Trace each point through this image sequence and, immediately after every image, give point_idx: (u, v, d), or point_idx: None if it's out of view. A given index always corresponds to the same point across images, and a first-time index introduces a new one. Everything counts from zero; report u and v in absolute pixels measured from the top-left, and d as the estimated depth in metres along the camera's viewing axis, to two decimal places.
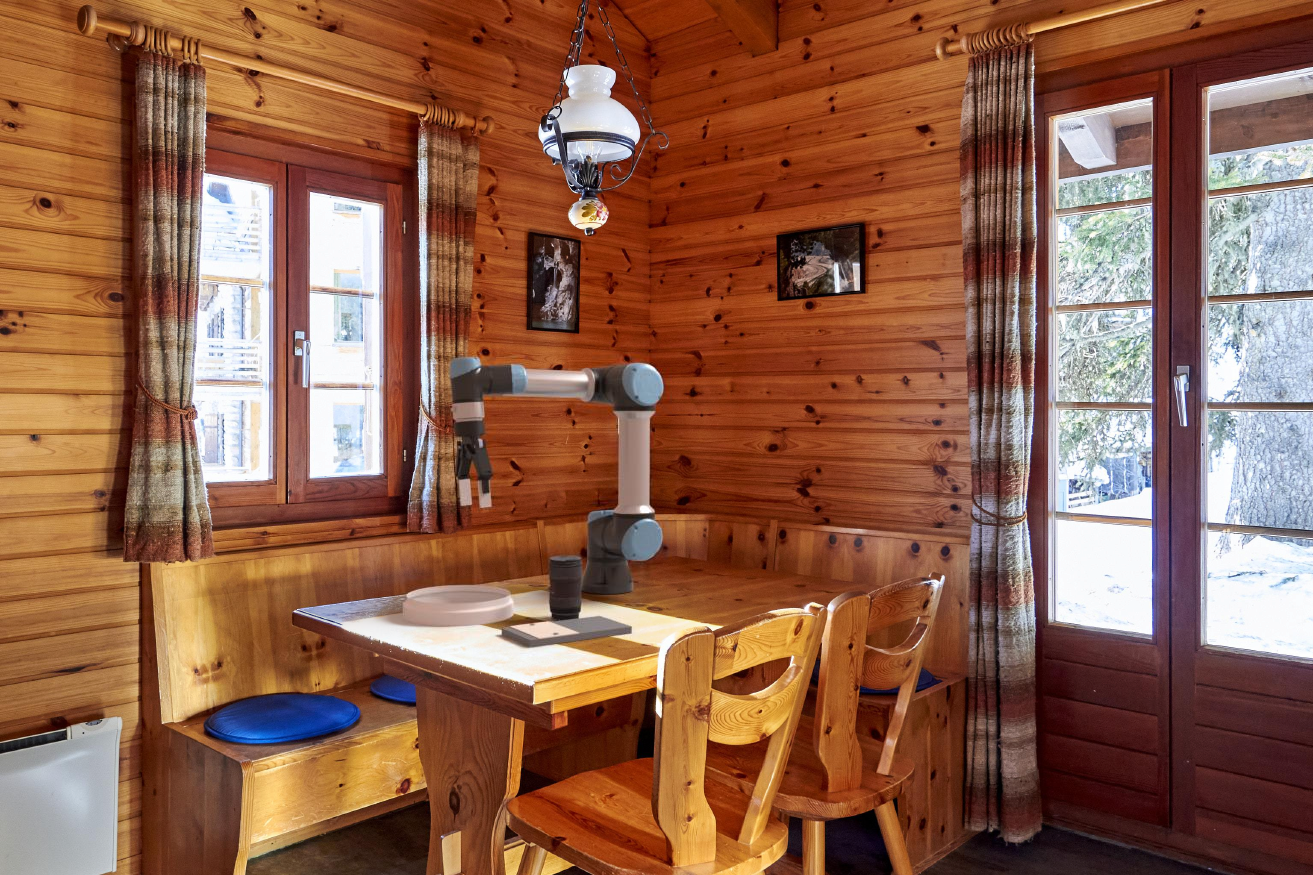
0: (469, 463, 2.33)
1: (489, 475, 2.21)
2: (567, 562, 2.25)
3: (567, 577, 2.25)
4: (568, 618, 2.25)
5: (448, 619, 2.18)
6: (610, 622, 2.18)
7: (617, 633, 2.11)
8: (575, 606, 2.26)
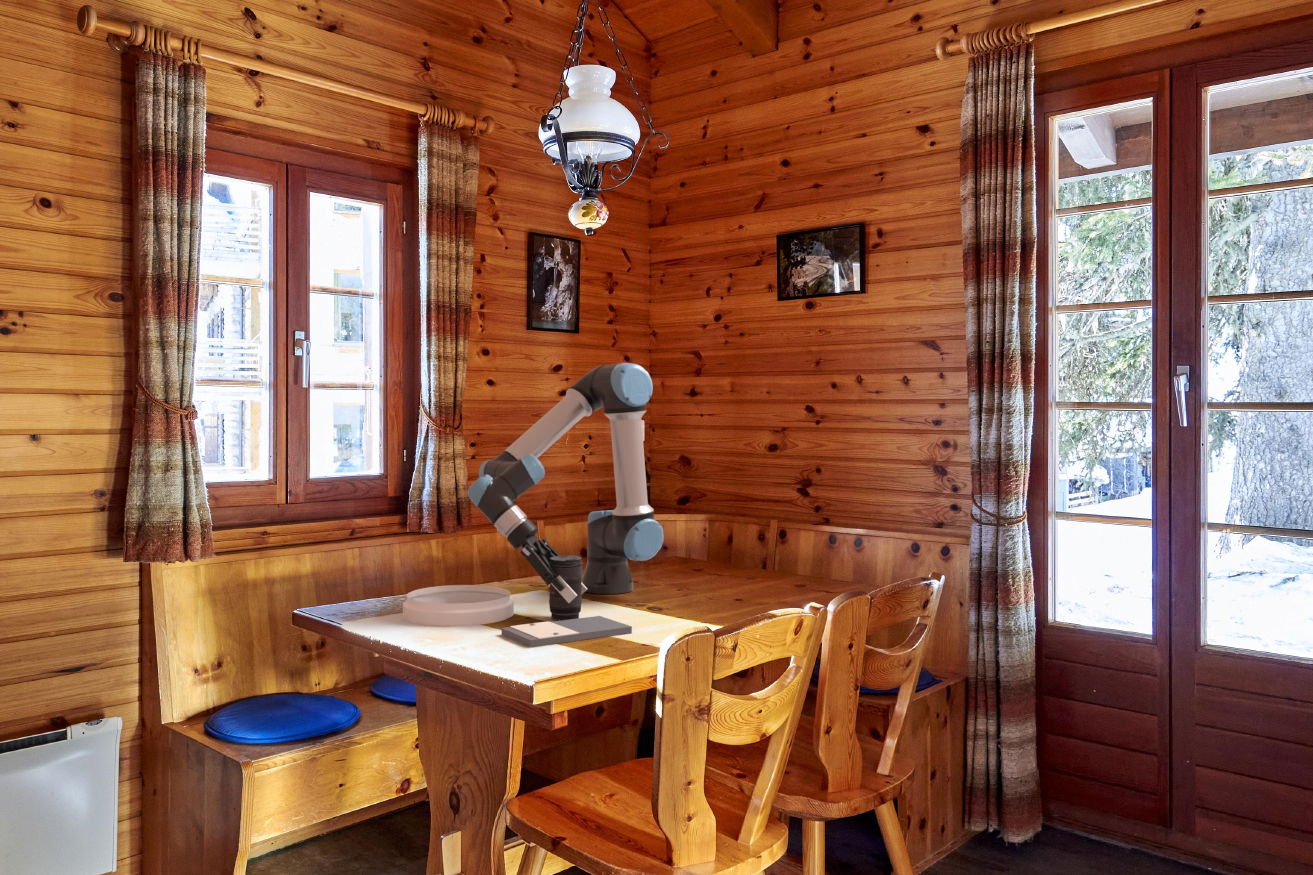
0: None
1: (548, 576, 2.21)
2: (567, 562, 2.25)
3: (567, 577, 2.25)
4: (568, 618, 2.25)
5: (448, 619, 2.18)
6: (610, 622, 2.18)
7: (617, 633, 2.11)
8: (575, 606, 2.26)
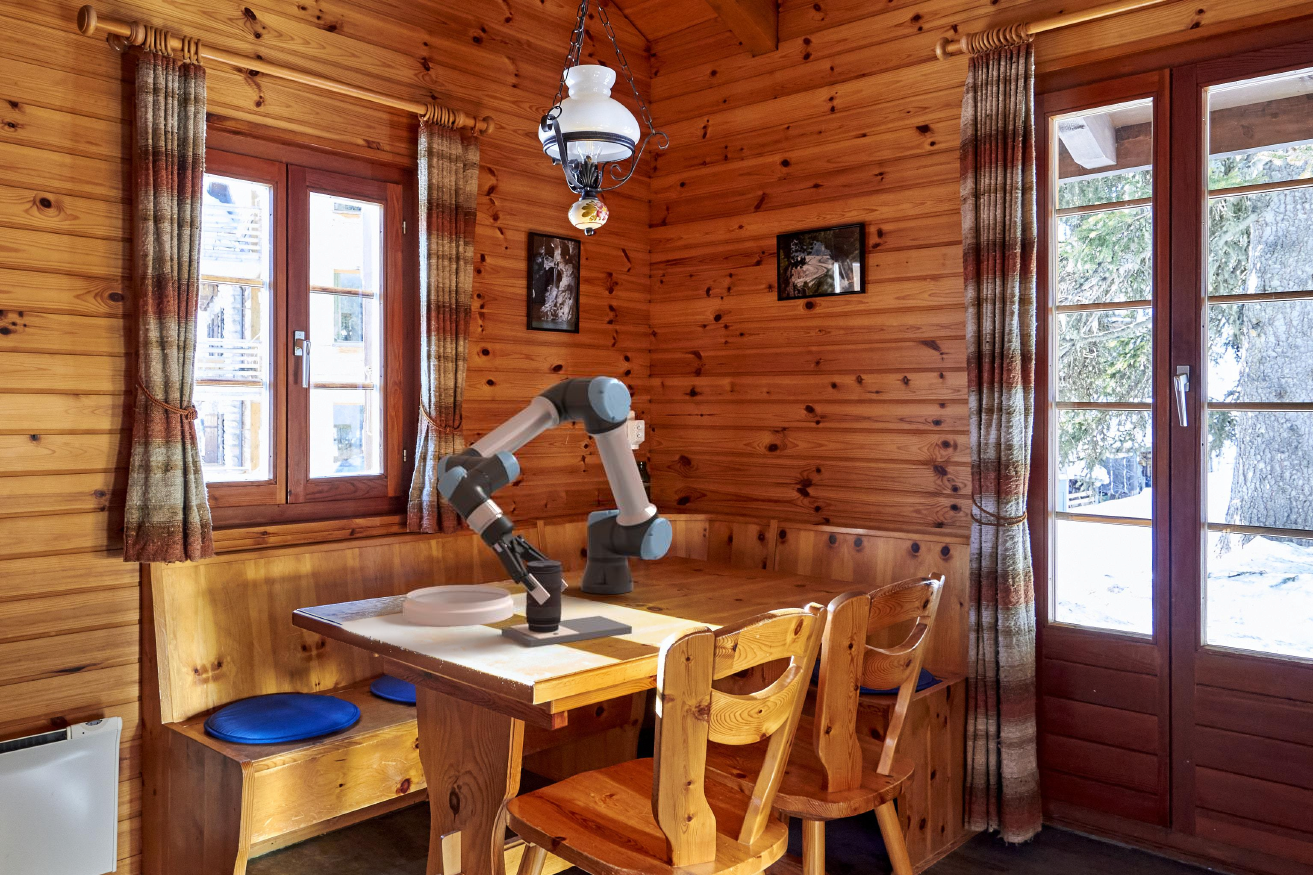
0: (531, 555, 2.13)
1: (517, 575, 1.99)
2: (545, 568, 2.04)
3: (545, 584, 2.04)
4: (546, 629, 2.05)
5: (448, 619, 2.18)
6: (610, 622, 2.18)
7: (617, 633, 2.11)
8: (554, 616, 2.05)
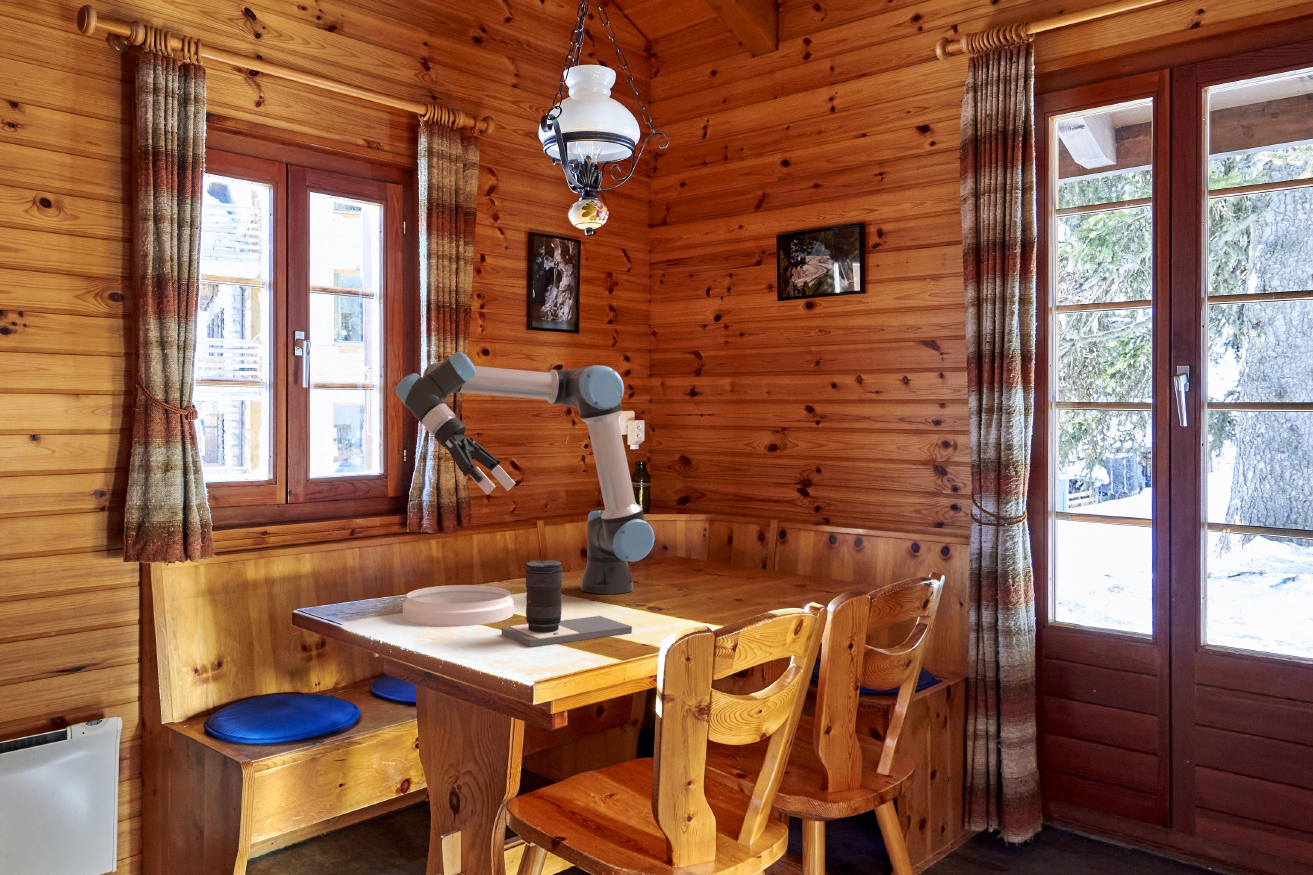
0: (482, 455, 2.33)
1: (465, 466, 2.18)
2: (545, 568, 2.04)
3: (545, 584, 2.04)
4: (546, 629, 2.05)
5: (448, 619, 2.18)
6: (610, 622, 2.18)
7: (617, 633, 2.11)
8: (554, 616, 2.05)
